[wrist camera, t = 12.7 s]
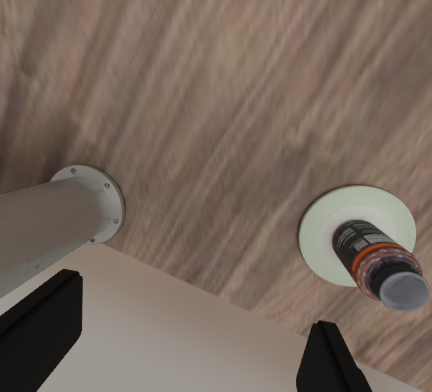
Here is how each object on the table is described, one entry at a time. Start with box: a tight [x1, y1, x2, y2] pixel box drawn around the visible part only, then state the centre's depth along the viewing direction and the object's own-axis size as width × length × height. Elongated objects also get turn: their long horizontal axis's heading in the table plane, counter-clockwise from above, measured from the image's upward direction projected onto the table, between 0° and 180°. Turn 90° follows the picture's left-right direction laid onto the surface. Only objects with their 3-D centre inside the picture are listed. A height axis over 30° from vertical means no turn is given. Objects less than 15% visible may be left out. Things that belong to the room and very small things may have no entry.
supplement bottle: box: [332, 220, 430, 312], centre depth 27 cm, size 6×6×11 cm
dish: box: [298, 185, 416, 287], centre depth 33 cm, size 14×14×2 cm
